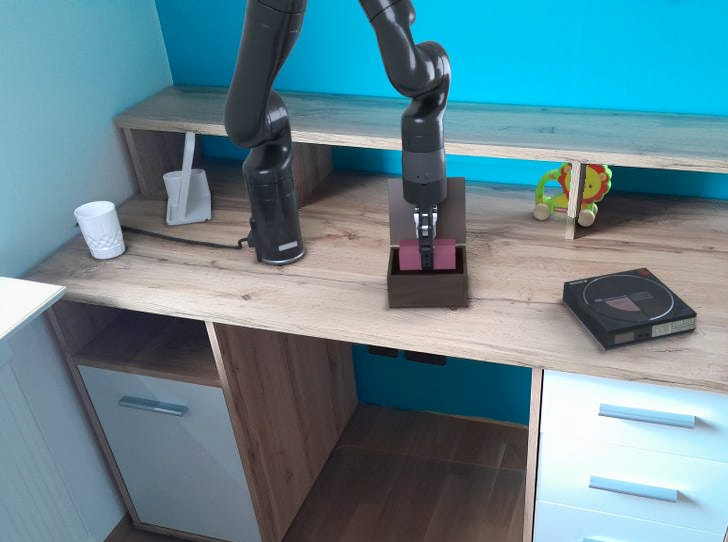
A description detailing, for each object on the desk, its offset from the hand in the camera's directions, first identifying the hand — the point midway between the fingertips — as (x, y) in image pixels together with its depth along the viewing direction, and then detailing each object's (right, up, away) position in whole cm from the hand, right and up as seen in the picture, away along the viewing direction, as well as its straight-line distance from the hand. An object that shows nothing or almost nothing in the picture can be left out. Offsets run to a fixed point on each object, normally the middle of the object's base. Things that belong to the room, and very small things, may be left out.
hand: (427, 260), depth 126 cm
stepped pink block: (0, 0, 0) cm, 0 cm away
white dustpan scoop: (-57, +18, +39) cm, 72 cm away
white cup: (-69, +5, +22) cm, 72 cm away
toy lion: (+32, +13, +28) cm, 44 cm away
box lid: (0, +10, +3) cm, 10 cm away
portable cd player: (+35, -11, -4) cm, 37 cm away
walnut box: (0, -5, +5) cm, 7 cm away
